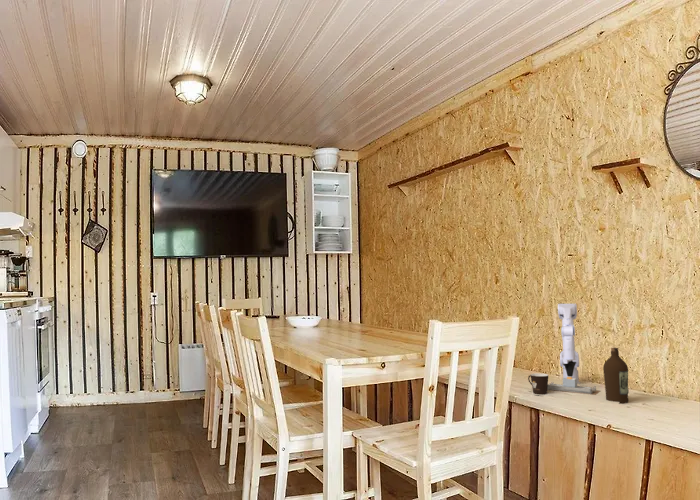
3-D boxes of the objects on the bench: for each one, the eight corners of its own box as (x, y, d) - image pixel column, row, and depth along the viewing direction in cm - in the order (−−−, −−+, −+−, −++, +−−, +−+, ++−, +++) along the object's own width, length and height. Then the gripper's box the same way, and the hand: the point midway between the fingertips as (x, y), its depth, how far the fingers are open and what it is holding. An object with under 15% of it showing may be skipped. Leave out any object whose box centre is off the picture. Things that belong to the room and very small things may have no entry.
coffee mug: (551, 396, 278) (550, 376, 279) (534, 396, 278) (533, 376, 279) (544, 391, 290) (543, 372, 290) (527, 392, 290) (526, 372, 291)
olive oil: (600, 401, 266) (597, 348, 267) (613, 397, 272) (610, 346, 273) (621, 405, 257) (618, 350, 258) (634, 401, 263) (631, 348, 264)
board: (549, 387, 300) (548, 386, 300) (600, 392, 284) (600, 390, 284) (542, 391, 291) (542, 389, 291) (595, 396, 276) (595, 394, 276)
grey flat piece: (552, 386, 298) (551, 382, 298) (596, 390, 285) (595, 386, 285) (546, 389, 291) (546, 384, 291) (591, 394, 278) (591, 389, 278)
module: (565, 387, 291) (564, 376, 291) (577, 388, 287) (576, 377, 287) (563, 388, 287) (562, 377, 288) (575, 389, 284) (574, 378, 284)
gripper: (564, 347, 296) (566, 373, 296) (556, 350, 285) (557, 377, 284) (578, 348, 292) (580, 374, 291) (571, 351, 280) (572, 378, 280)
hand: (570, 376), depth 287 cm, fingers closed
